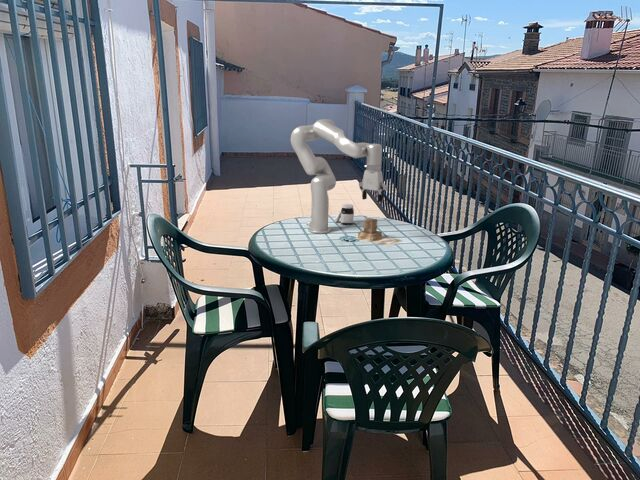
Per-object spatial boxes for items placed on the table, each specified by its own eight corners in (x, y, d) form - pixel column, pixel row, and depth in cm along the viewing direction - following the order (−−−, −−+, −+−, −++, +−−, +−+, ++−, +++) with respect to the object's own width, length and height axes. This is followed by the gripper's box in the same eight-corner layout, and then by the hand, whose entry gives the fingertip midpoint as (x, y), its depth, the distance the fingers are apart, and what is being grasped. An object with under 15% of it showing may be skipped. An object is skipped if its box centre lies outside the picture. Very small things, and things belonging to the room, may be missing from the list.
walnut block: (363, 237, 272) (364, 219, 269) (368, 235, 276) (369, 217, 273) (371, 239, 269) (372, 221, 266) (376, 237, 273) (377, 219, 270)
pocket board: (353, 239, 270) (354, 232, 269) (368, 234, 281) (368, 227, 280) (389, 247, 257) (390, 240, 256) (403, 242, 268) (403, 235, 267)
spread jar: (354, 226, 299) (355, 206, 296) (335, 225, 299) (335, 206, 296) (352, 221, 311) (352, 202, 308) (333, 221, 310) (334, 202, 307)
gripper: (355, 167, 264) (354, 199, 269) (384, 170, 254) (382, 203, 259) (363, 165, 270) (362, 197, 274) (391, 168, 260) (390, 201, 264)
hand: (372, 200), depth 266 cm, fingers open, 9 cm apart
